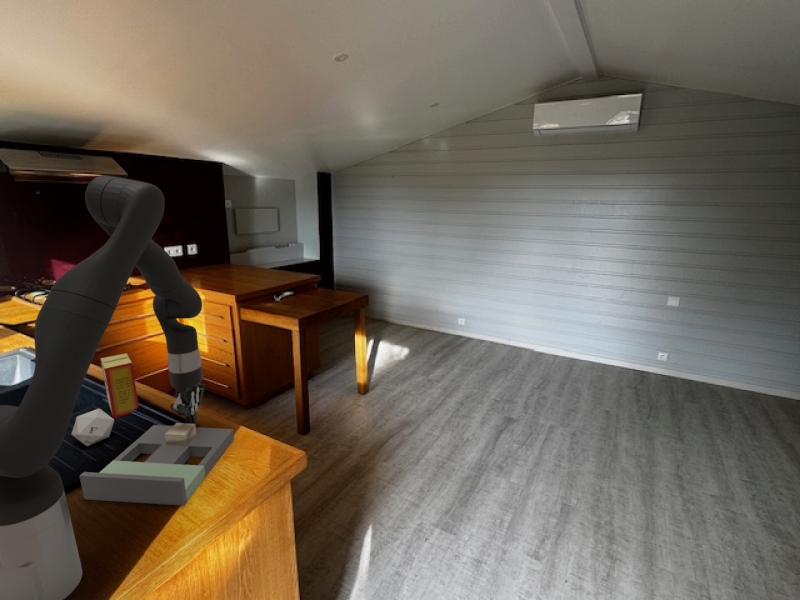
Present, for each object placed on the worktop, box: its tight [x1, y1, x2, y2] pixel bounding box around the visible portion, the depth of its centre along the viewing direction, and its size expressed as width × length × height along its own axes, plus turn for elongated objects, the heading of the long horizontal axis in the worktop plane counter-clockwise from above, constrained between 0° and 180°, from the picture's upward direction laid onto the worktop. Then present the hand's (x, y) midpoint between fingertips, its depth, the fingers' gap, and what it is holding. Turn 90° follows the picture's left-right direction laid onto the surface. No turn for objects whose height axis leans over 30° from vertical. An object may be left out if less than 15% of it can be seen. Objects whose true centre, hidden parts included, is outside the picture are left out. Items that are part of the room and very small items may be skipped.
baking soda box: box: [99, 352, 140, 419], centre depth 121 cm, size 10×6×16 cm
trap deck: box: [79, 424, 235, 506], centre depth 97 cm, size 24×22×6 cm
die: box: [71, 408, 115, 447], centre depth 106 cm, size 8×9×10 cm
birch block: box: [165, 422, 197, 446], centre depth 103 cm, size 5×5×3 cm
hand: (192, 425), depth 108 cm, fingers closed
